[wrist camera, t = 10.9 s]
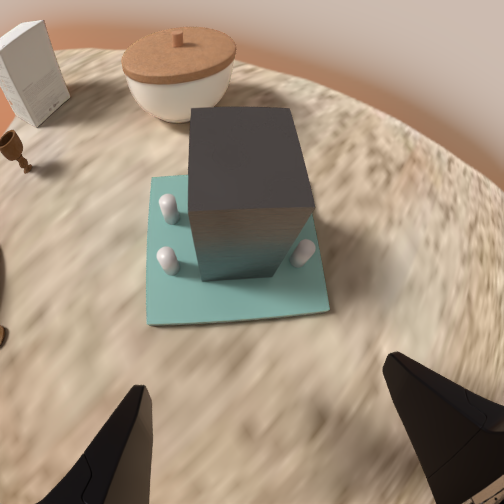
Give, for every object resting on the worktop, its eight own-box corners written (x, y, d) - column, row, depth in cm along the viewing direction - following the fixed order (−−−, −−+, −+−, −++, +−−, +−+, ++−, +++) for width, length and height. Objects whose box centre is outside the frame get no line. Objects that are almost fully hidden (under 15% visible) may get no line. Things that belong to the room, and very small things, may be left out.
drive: (272, 277, 20) (315, 207, 11) (201, 281, 20) (187, 211, 11) (262, 203, 23) (289, 107, 13) (199, 205, 22) (191, 106, 13)
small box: (72, 97, 27) (45, 18, 15) (36, 129, 25) (-3, 52, 13) (46, 87, 28) (21, 21, 16) (15, 116, 26) (-18, 51, 14)
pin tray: (325, 312, 21) (343, 303, 18) (150, 325, 19) (137, 319, 16) (299, 179, 25) (310, 154, 22) (153, 184, 23) (146, 159, 20)
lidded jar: (162, 74, 29) (156, 12, 21) (243, 88, 29) (252, 20, 21) (116, 129, 25) (94, 58, 17) (209, 148, 25) (210, 66, 17)
